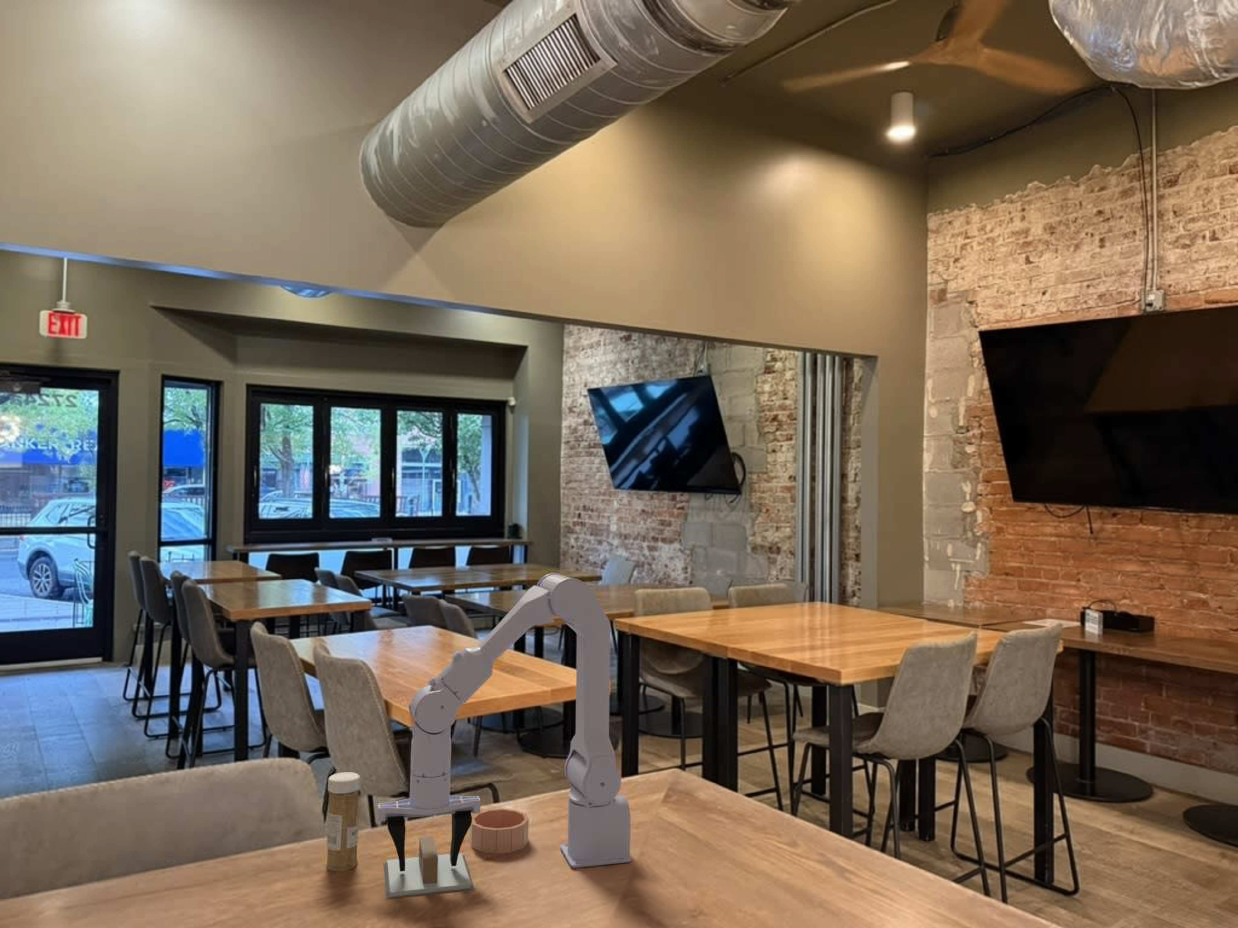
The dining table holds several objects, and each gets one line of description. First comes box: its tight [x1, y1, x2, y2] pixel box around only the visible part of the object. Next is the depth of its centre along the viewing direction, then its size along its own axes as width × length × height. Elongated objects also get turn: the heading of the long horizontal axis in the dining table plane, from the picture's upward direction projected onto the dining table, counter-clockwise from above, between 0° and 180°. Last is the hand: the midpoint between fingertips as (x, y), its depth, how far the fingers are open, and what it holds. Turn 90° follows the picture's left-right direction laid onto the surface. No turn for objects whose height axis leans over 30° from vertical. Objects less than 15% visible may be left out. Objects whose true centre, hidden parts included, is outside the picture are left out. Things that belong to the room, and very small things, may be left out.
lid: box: [386, 835, 471, 897], centre depth 128 cm, size 11×11×4 cm
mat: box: [383, 854, 475, 900], centre depth 128 cm, size 12×12×1 cm
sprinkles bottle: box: [325, 771, 361, 872], centre depth 132 cm, size 5×5×13 cm
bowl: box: [469, 808, 530, 855], centre depth 141 cm, size 9×9×4 cm
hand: (427, 865), depth 128 cm, fingers open, 7 cm apart
